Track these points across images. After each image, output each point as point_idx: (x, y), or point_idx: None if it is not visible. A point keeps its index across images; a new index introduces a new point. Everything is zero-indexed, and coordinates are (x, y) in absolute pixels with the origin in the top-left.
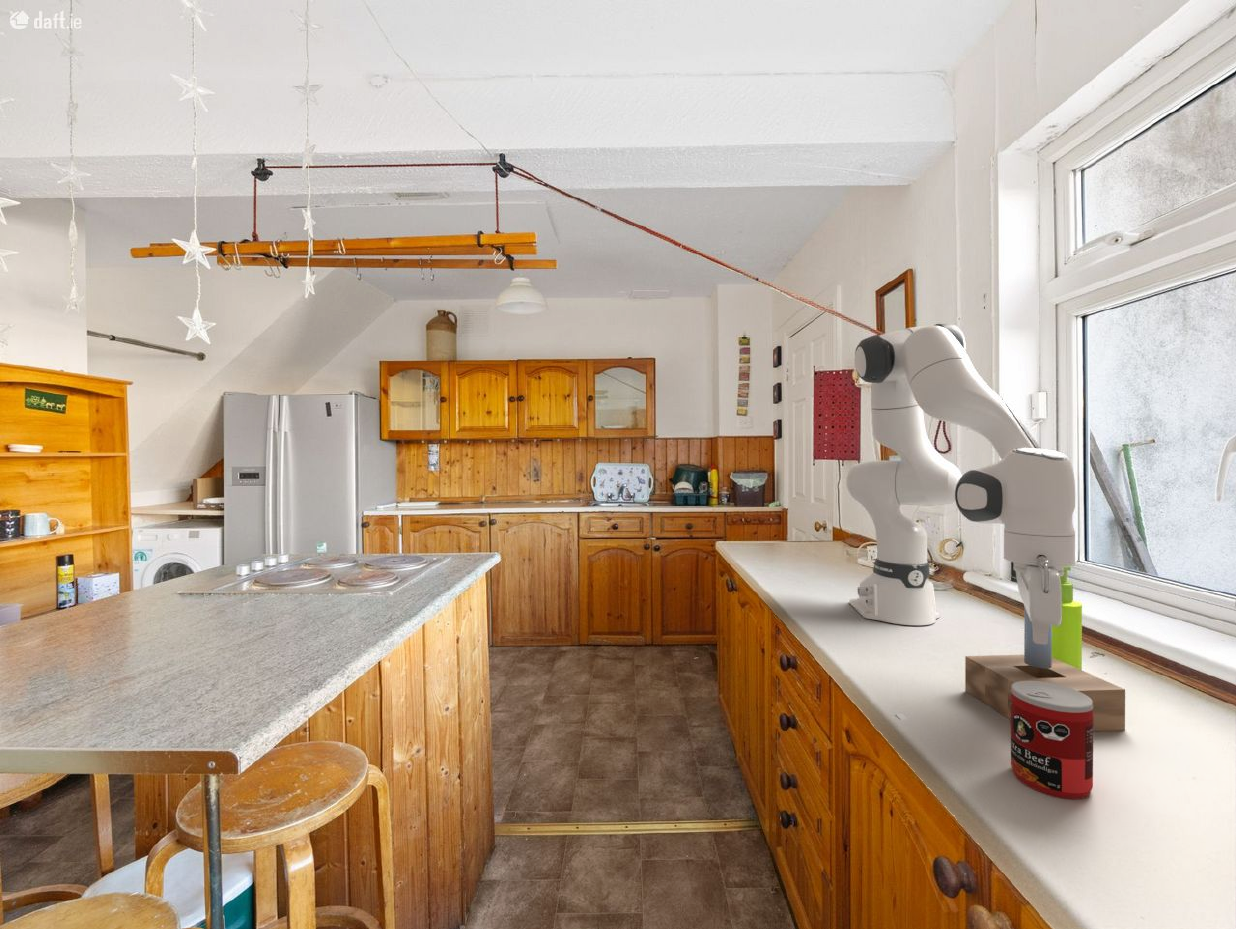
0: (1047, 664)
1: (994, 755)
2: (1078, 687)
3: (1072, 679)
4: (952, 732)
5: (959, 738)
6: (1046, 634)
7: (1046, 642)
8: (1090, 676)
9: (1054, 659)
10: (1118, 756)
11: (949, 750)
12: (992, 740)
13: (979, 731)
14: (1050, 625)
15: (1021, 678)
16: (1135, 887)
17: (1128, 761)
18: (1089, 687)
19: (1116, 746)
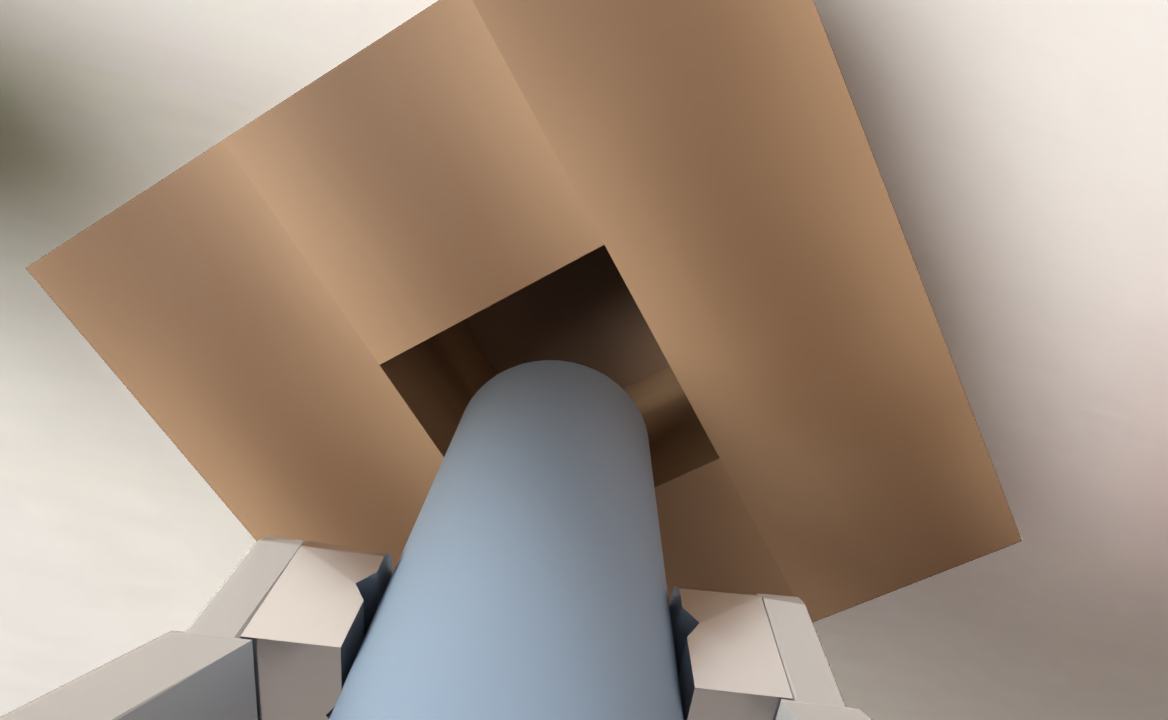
0: (634, 418)
1: (1164, 587)
2: (826, 221)
3: (640, 214)
4: (986, 689)
5: (1036, 674)
6: (833, 701)
7: (802, 613)
8: (487, 34)
9: (142, 222)
10: (1065, 78)
11: (1151, 713)
12: (1024, 572)
13: (946, 603)
14: (629, 701)
15: (767, 549)
16: None
17: (1115, 45)
18: (801, 134)
19: (940, 45)
